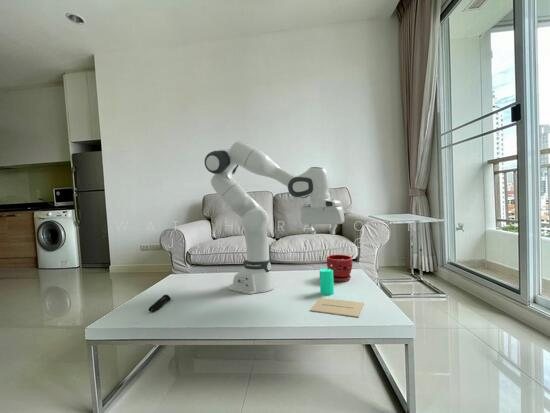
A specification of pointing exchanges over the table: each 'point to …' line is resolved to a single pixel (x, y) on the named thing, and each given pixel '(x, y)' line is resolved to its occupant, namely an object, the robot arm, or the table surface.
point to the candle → (326, 282)
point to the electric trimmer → (159, 303)
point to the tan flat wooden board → (338, 307)
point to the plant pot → (340, 267)
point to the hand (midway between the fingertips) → (323, 234)
